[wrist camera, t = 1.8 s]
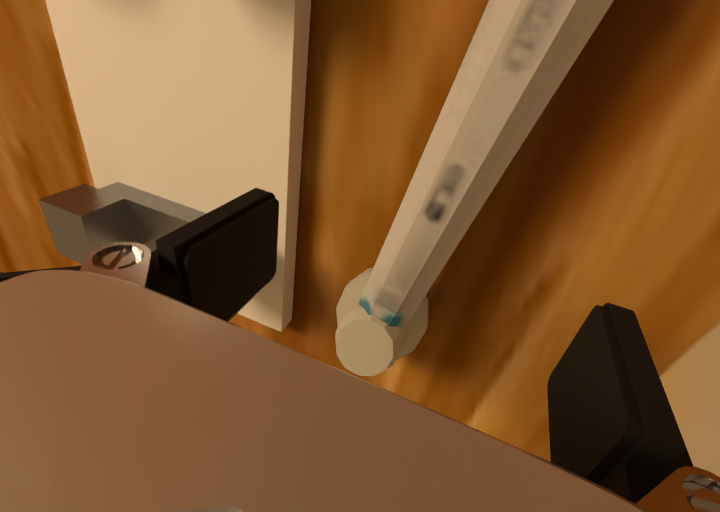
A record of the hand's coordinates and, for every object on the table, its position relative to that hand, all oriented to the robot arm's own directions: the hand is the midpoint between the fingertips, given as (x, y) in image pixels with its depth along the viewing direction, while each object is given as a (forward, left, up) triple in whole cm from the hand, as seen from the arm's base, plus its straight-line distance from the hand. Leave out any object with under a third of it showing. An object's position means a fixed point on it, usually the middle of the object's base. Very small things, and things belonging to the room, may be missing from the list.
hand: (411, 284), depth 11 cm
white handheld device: (-1, 0, -11) cm, 11 cm away
